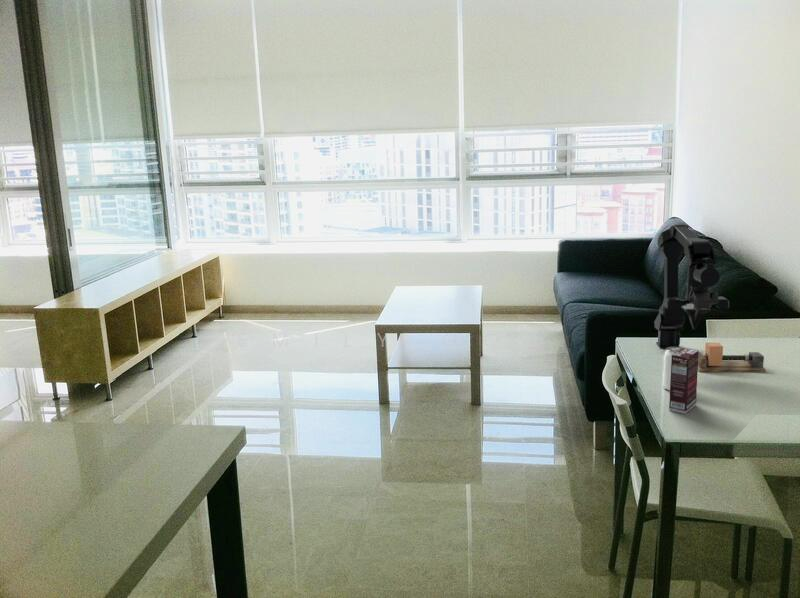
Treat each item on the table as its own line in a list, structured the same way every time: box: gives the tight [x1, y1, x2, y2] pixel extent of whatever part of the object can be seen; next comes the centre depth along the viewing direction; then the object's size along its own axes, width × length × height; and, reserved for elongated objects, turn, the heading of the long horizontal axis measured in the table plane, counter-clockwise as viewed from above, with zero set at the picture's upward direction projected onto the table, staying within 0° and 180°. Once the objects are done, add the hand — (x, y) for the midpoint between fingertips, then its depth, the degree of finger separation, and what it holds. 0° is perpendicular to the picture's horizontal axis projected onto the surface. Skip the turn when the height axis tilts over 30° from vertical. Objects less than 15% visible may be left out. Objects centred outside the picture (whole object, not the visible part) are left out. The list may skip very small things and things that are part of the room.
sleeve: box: [704, 342, 724, 366], centre depth 238 cm, size 4×4×6 cm
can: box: [662, 346, 683, 392], centre depth 220 cm, size 6×6×12 cm
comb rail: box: [698, 351, 767, 373], centre depth 238 cm, size 20×9×4 cm, turn 85°
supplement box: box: [668, 347, 700, 415], centre depth 204 cm, size 9×5×16 cm, turn 141°
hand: (694, 329), depth 237 cm, fingers closed
